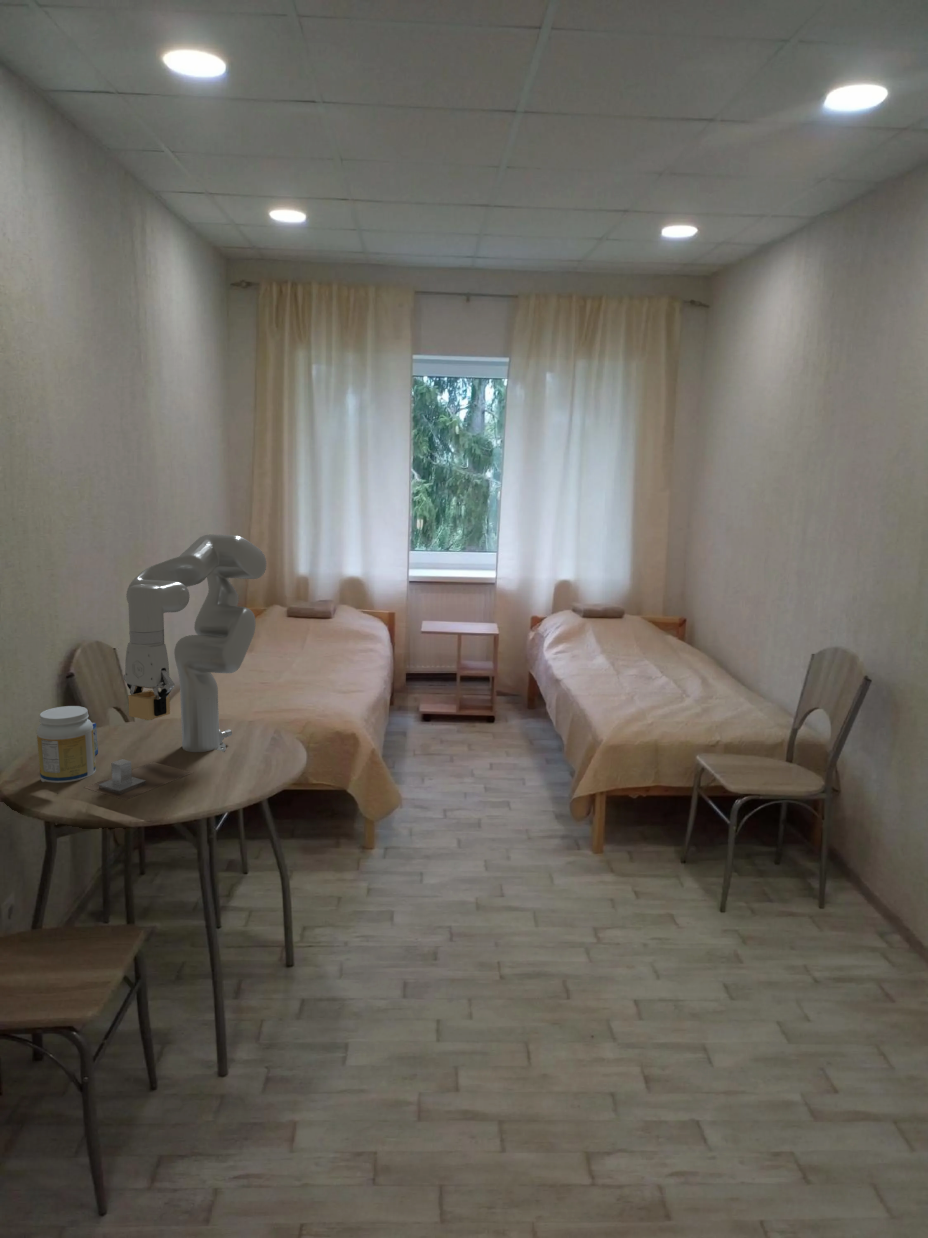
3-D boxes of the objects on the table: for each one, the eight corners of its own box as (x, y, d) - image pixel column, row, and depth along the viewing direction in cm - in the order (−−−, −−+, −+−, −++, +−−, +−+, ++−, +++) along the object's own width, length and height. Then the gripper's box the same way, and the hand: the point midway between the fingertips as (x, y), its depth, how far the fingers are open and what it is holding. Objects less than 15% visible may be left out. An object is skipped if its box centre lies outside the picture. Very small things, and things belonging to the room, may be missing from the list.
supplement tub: (58, 769, 206) (53, 703, 203) (105, 771, 205) (101, 705, 202) (29, 787, 194) (24, 718, 191) (80, 789, 193) (75, 720, 190)
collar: (150, 710, 199) (150, 689, 198) (170, 714, 196) (169, 693, 195) (129, 716, 193) (128, 695, 192) (148, 720, 190) (147, 699, 189)
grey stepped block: (124, 778, 196) (123, 754, 195) (145, 784, 193) (144, 760, 192) (98, 788, 190) (97, 763, 189) (120, 794, 187) (118, 769, 186)
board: (153, 767, 208) (153, 761, 208) (193, 778, 202) (193, 772, 201) (84, 793, 191) (83, 787, 191) (125, 806, 184) (125, 800, 184)
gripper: (107, 636, 192) (110, 710, 195) (161, 644, 184) (163, 721, 187) (133, 631, 199) (136, 704, 201) (186, 639, 191) (188, 714, 194)
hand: (149, 711), depth 194 cm, fingers closed on collar, 6 cm apart
